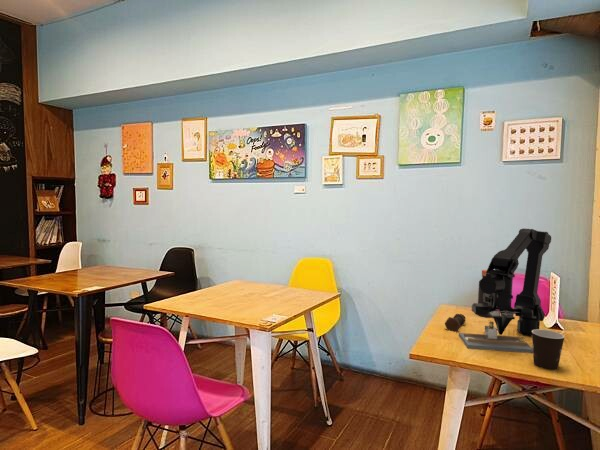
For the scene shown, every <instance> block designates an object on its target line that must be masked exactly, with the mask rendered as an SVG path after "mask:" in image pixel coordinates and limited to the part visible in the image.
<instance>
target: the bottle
mask: <svg viewBox="0 0 600 450" xmlns="http://www.w3.org/2000/svg"><path fill="white" fill-rule="evenodd" d="M486 271H487V269H482V270H481V279H480V280H479V281H478V294H477V303H480V304H485V305H486V306H487V307H493V306H489V305H488V302H483V294H484V292H483V291H482V290H481V288H480V282H481V280H482V279H483V278H484V277H486ZM490 296H492V294H490ZM478 316H480V317H483V318H492V317H491V316H490V315H489V313H487V314H486V315H478Z"/></svg>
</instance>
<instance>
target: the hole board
mask: <svg viewBox="0 0 600 450" xmlns="http://www.w3.org/2000/svg"><path fill="white" fill-rule="evenodd" d="M484 334H485V333H469V332H458V337H459V338H460V340H461V341H462V343H463V344H464V345H465V347H466V348H467V349H473V350H484V351H485V350H486V351H489V350H490V351H502V352H511V353H512V352H513V353H514V352H515V353H525V354H526V353H527V354H529V353H530V354H533V346H532V347H531V345H529V344H528V342H526V341H525V342H519V337H520V336H515V335H503V334H502V335H499V334H497V340H486V339H485V338H484Z"/></svg>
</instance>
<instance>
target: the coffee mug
mask: <svg viewBox="0 0 600 450" xmlns="http://www.w3.org/2000/svg"><path fill="white" fill-rule="evenodd" d="M531 338H532V339H531V340H532V341H531V342H532V348H533V353H532V355H533V364H534V366H535V367H538V368H540V369H544V370H549V371H555V370H558V369H559V366H560V359H561V356H562V352H563V346H564V341H565V335H564V334H562V333H560V332H559V331H558V332H557V331H554V330H550V329H541V328H539V329H536V330H532V336H531Z"/></svg>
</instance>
